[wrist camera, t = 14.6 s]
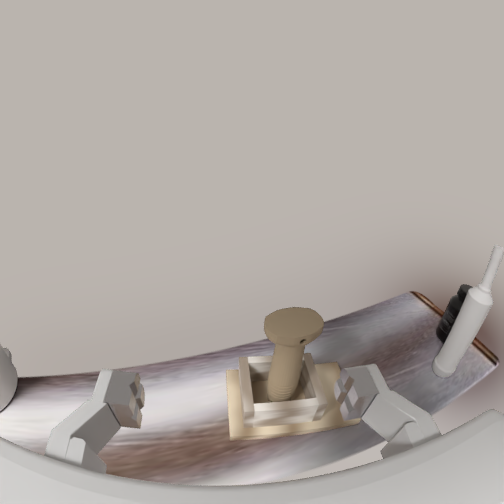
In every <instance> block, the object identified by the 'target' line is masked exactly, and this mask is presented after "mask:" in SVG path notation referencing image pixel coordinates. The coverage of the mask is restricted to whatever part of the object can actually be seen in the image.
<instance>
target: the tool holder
mask: <svg viewBox="0 0 504 504" xmlns="http://www.w3.org/2000/svg"><path fill="white" fill-rule="evenodd" d="M272 358H273V356H258V357H239V370H226V379H227V398H228V414H229V429H230V440H250V439H265V438H276V437H285V436H294V435H301V434H308V433H314V432H320V431H326V430H331V429H337V428H342V427H346V426H351V425H355V424H358V423H359V422H360V420H361V419H360V418H356V419H351V420H346V421H344V420H343V417H342V414H341V411H340V406H341V404H340V403H339V402H338V401H337V400H336V398H335V393H334V386H335V383H336V381H337V380H338V379H339V378H340V372H341V370H340V368H339V366H338V363H337V362H331V363H323V364H314V362H313V359H312V356H311V353H304V354H303V360H302V366H301V372H300V378H299V382H298V385H297V388H296V390H295V393H294V395H293V396H292V399H291V401H283V402H271V403H270V401H269V400H268V398H267V394H268V390H267V385H268V375H269V370H270V366H271V362H272Z"/></svg>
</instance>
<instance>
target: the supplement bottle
mask: <svg viewBox="0 0 504 504" xmlns="http://www.w3.org/2000/svg"><path fill="white" fill-rule="evenodd" d="M470 288H473V287H472V286H469V285H464V284H463V285H461V286H460V289H459V290H458V292H457V295H455V296H453V297H452V298H451V299H450V302H449V304H448V306H447V308H446V310H445V313H444V315H443V317H442V319H441V321H440V323H439V325H438V328H437V331H436V332H437V336H438V338H439V339H440V340H441V341H442V342H443V343H445V341H446V339H447V337H448V335H449V333H450V331H451V329H452V327H453V325H454V323H455V321H456V318H457V316H458V314H459V312H460V310H461V307H462V305H463V303H464V300H465V298H466V295H467V293H468V290H469V289H470Z"/></svg>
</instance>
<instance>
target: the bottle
mask: <svg viewBox="0 0 504 504" xmlns="http://www.w3.org/2000/svg"><path fill="white" fill-rule="evenodd" d="M503 254H504V248H502V247H501V246H499V245H495V246H494V248H493V251H492V254H491V258H490V261H489V264H488V266H487V269H486V271H485V274H484V277H483V279H482V282H481V283H479V284H478V286H476V287H473V288H470V289H469V290H468V293H467V295H466V298H465V300H464V303H463V305H462V307H461V310H460V312H459V314H458V316H457V318H456V321H455V323H454V325H453V327H452V329H451V331H450V333H449V335H448V337H447V339H446V341H445V343H444V345H443V347H442V349H441V351H440V353H439V354H438V355H437V356H436V357H435V359H434V361H433V364H432V369H433V371H434V373H435V374H436V375H437V376H439V377H441V378H448V377H450V376H451V375H452V374H453V373H454V372H455V370H456V368H457V365H458V363H459V362H460V360H461V359H462V357H463V356H464V354H465V352H466V351H467V349H468V348H469V346H470V344H471V343H472V341H473V339H474V338H475V336H476V334H477V332H478V331H479V329H480V327H481V325H482V323H483V322H484V320H485V317H486V316H487V314H488V312H489V310H490V308H491V306H492V304H493V299H492V296H491V285H492V283H493V280H494V278H495V275H496V273H497V270H498V267H499V265H500V262H501V260H502V257H503Z"/></svg>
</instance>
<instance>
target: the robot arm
mask: <svg viewBox="0 0 504 504" xmlns="http://www.w3.org/2000/svg"><path fill="white" fill-rule="evenodd" d="M17 380H18V378H17V372H16V369H15V367H14V366H13V364H12V362H11V353H10V351H9V350H8V349H6V348H3V347H2V346H1V344H0V411H1V410H2V409H4V408H5V407H6V406H7V404H8V403H9V402H10V400H11V399H12V397H13V395H14V393H15V390H16V387H17ZM334 393H335V398H336V400H337V401H338V402H339V403H340V404H341V406H340V411H341V414H342V417H343V420H344V421H346V420H351V419H356V418H361V419H362V420H363V421H365V422H366V423H367V424H368V425H369V426H370V427H371V428H373V429H374V430H375V431H376V432H377V433H378V434H379V435H381V436H382V437H383V438H384V439H385V440H386V441H387V442H389V443H388V444H387V445H386V446H385V447H384V448H383V449H382V450H381V454H382V457H383V459H382V460H378V461H375V462H372V463H369V464H366V465H362V466H358V467H355V468H351V469H347V470H343V471H339V472H334V473H330V474H326V475H320V476H315V477H310V478H304V479H298V480H291V481H283V482H275V483H265V484H252V485H232V486H201V485H181V484H168V483H158V482H150V481H143V480H136V479H130V478H124V477H119V476H114V475H109V474H106V467H107V465H106V464H105V463H104V462H103V461H102V460H101V459H100V457H99V456H98V455H97V454H98V453H99V452H100V451H101V450H102V448H103V447H104V446H105V445H106V444H107V443H108V442H109V440H110V439H111V438H112V437H113V436H114V435H115V434H116V432H117V431H118V430H119V429H120V428H121V427H130V428H139V429H140V427H141V420H142V414H141V411H140V409H141V408H142V407H143V406H144V400H145V393H144V388H143V385H142V384H140V376H139V373H131V372H123V371H116V370H109V369H102V370H101V372H100V374H99V377H98V380H97V383H96V387H95V390H94V393H93V396H92V400H87V401H86V402H85V403H84V404H82V405H81V406H80V407H79V408H78V409H76V410H75V411H74V412H73V413H72V414H70V415H69V416H68V417H67V418H65V419H64V420H63V421H62V422H61V423H59V424H58V425H57V426H56V427H55V428H53V429H52V431H51V434H50V437H49V441H48V444H47V447H46V451H45V455H41V454H38V453H36V452H33V451H31V450H28V449H26V448H23V447H21V446H19V445H16V444H14V443H12V442H10V441H8V440H6V439H4V438H2V437H0V504H504V414H503V413H501V412H499V411H497V410H494V409H491V410H488V411H486V412H484V413H482V414H481V415H479V416H477V417H476V418H474V419H472V420H471V421H469V422H467V423H465V424H463V425H461V426H459V427H458V428H456V429H454V430H452V431H450V432H448V433H446V434H444V435H441V433H440V431H439V429H438V427H437V425H436V424H435V422H434V420H433V418H432V416H431V414H429V413H428V412H426V411H424V410H423V409H421V408H420V407H418V406H417V405H415V404H413V403H412V402H410V401H409V400H407V399H406V398H404V397H402V396H401V395H399V394H398V393H396V392H395V391H390V389H389V387H388V386H387V384H386V382H385V380H384V378H383V376H382V374H381V372H380V371H379V369H378V367H377V365H375V364H370V365H364V366H363V365H362V366H356V367H350V368H344V369H342V370H341V372H340V378H339V379H338V380H337V381H336V383H335V386H334ZM120 426H121V427H120Z"/></svg>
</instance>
